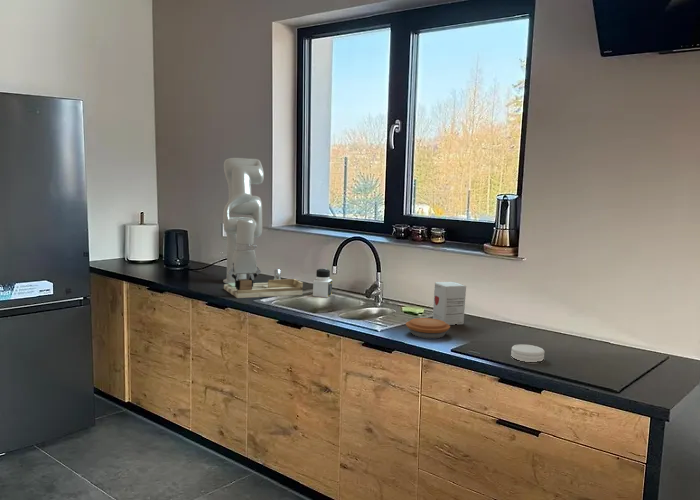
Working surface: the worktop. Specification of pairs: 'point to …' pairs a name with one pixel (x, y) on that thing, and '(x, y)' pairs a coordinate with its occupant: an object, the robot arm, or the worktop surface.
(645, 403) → the worktop surface
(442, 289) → the supplement box
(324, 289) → the medicine bottle
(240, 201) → the robot arm
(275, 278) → the grey metal peg
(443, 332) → the pie
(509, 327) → the worktop surface
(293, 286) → the board
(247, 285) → the walnut cube
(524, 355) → the white round container
